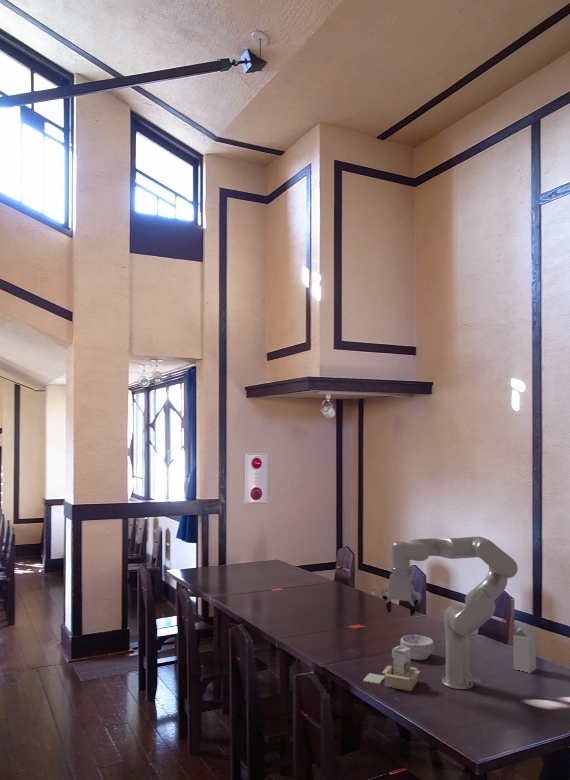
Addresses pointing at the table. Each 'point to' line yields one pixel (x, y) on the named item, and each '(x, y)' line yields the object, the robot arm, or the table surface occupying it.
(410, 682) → the carton
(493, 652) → the table surface
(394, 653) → the syrup box
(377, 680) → the plate
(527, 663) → the milk carton
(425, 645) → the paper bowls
